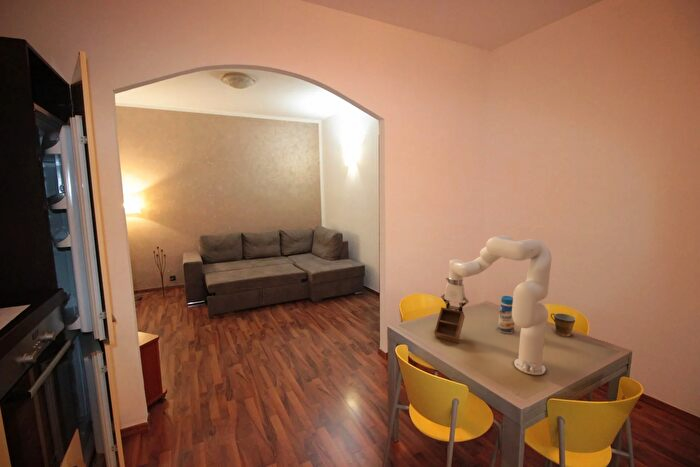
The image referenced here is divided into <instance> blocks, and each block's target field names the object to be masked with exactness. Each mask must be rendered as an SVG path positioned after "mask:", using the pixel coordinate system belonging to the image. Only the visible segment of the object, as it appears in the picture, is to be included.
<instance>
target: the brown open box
mask: <svg viewBox="0 0 700 467" xmlns="http://www.w3.org/2000/svg"><path fill="white" fill-rule="evenodd" d="M459 307H460V306H454V305H451V304H450V305H449V306H448V308H449V309H448V308H446V307H442V306H441V307H440V311H439V315H438V318H437V321H436V325H435V329H434V332H433V334H434V337H435V338H436V339H439V340H444V341H447V342H451V343H455V344H459V342H460V337H461V334H462V330H463V325H464V320H465V317H466V316H465V312H464V311H463V310H462V311H459Z"/></svg>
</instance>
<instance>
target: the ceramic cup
mask: <svg viewBox="0 0 700 467" xmlns="http://www.w3.org/2000/svg"><path fill="white" fill-rule="evenodd" d="M550 318H551V319H552V321H553V322H554V326H555V333H556V334H557V335H559V336H563V337H570V336H571V334H572V332H573V328H574V325H575V322H576V317H574V316H573V315H570V314H566V313H562V312H561V313H551V314H550Z"/></svg>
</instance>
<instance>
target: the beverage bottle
mask: <svg viewBox="0 0 700 467" xmlns="http://www.w3.org/2000/svg"><path fill="white" fill-rule="evenodd" d="M500 299H501V300H500V302H501V304H500V305H499V310H498V327H497V329H498V331H499V332H501V333H503V334H514V332H515V323H514V321H513V319H512V304H513V296H509V295H503V296H501V298H500Z"/></svg>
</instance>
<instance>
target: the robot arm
mask: <svg viewBox="0 0 700 467" xmlns="http://www.w3.org/2000/svg"><path fill="white" fill-rule="evenodd" d="M486 241H487V242H486V243H485V246H484V247H483V248H481V249H480V251H479V256H478V257H476V258H475V259H474V260H471V261H466V262H464V261H463V260H462V259H457V258H453V259H450V260H449V262H448V277H446V278H445V281H447V282H446V285H445V291H444V293H443V294H441V296H440V298H441V299H442V301H443V302H444V303H445V308H448V306H449V305H451V303H450V302H453V303H457V304H458V305H459V306H458V307H459V310H458V311H462V312H463V311H464V310H463V309H464V308H463V307H464V306H466V305H468V304H469V302H470V301H469V299H468V298H467V297H466V296H465V294H466V293H465V292H466V291H465V286H464V283H463V282H464V278H468V277H473V276H475V275H479V274H480V273H481V274H482V273H483V272H484V271H485V270H487V269H489V268H490V267H491V266H492V265H493V263H496V262H497V261H498V260H500V259H501V258H503V259H508V260H512V261H516V262H517V261H519V262H520V261H521V262H522V261H525V260H530V262H529V264H528V266H527V273H526V274H527V275H526V278H525V281H522V282H521V283H519V284H518V285H516V287H515V288H514V290H513V296H512V297H513V304H512V319H513V321H514V325H516V326H517V327H518V328H520V333H519V346H518V358H516V359H515V360H514V367H515V368H516V369H517V370H519V371H520V372H522V373H525V374H528V375H532V376H541V375H543V374H546V369H547V368H546V366H545V365H544V364H543V356H544V345H545V336H546V328H547V323H548V319H549V311H548V308H547V306H546V305H545V304H544V303H542V302H541V301H542V300H545V299H546V297H548V293H549V285H550V275H551V274H550V273H551V268H552V267H551V266H552V252H551V250H550V248H549V246H547V244H546V243H544V242H543V241H541V240H539V239H536V238H527V239H523V240H518V241H517V240H514V238H513V237H512V236H510V235H507V234H504V235H503V234H501V235H495V236H492V237H490V238H489V239H488V240H486ZM448 309H449V308H448Z"/></svg>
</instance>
